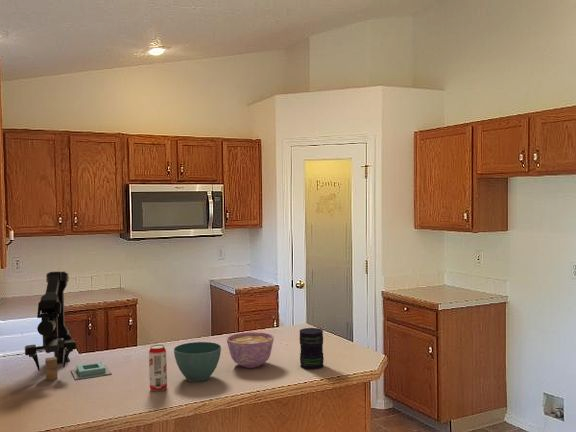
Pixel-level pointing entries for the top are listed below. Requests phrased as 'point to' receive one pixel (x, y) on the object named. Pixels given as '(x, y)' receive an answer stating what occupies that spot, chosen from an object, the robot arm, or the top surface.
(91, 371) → the socket block
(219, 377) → the top surface
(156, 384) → the beer can
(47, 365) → the walnut peg
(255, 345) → the bowl of food
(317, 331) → the storage jar
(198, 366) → the teal bowl
